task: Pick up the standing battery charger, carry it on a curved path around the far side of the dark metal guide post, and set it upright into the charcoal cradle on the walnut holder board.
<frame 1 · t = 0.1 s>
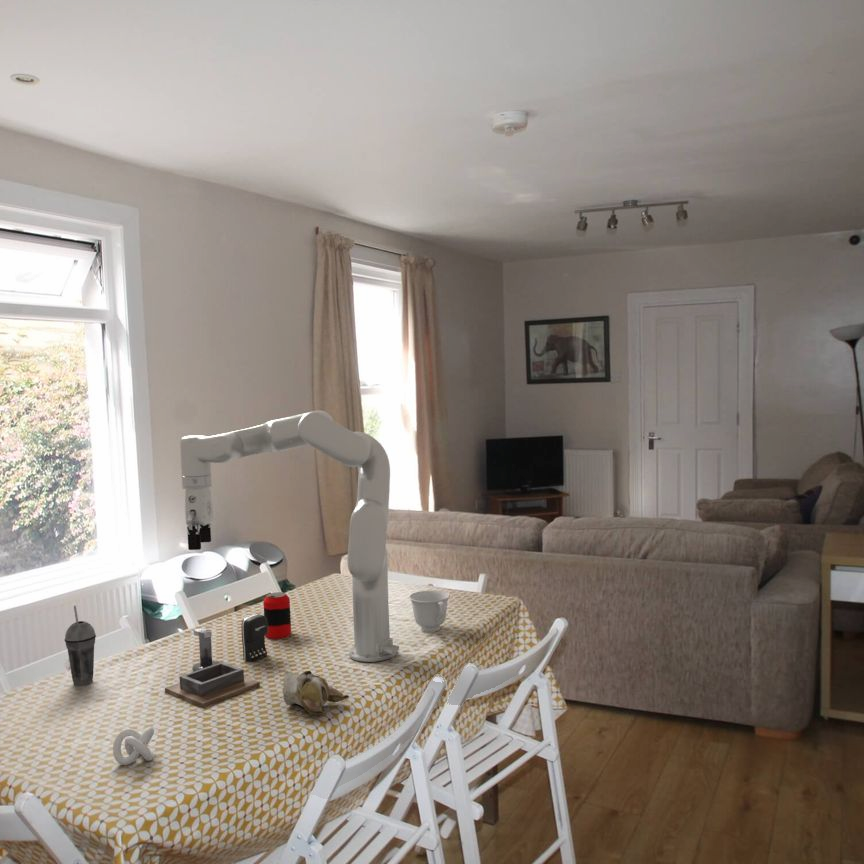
hand: (200, 545, 212), 31 cm above the table, fingers open, 9 cm apart
holder: (212, 688, 193), on the table
knot: (138, 759, 157), on the table
soda can: (278, 635, 233), on the table
guide post: (206, 669, 206), on the table
ceramic sculpture: (311, 708, 180), on the table
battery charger: (256, 658, 214), on the table
teacup: (432, 631, 232), on the table
beverage cup: (83, 683, 200), on the table
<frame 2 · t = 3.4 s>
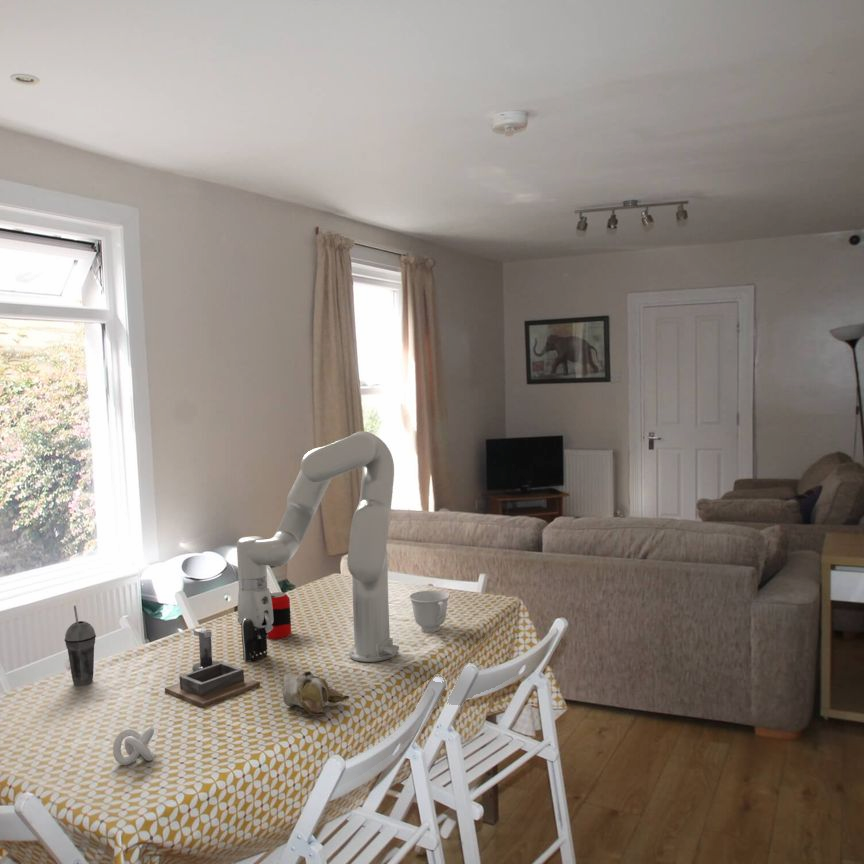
hand: (256, 649, 213), 2 cm above the table, fingers closed on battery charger, 4 cm apart
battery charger: (257, 658, 213), on the table, touching gripper
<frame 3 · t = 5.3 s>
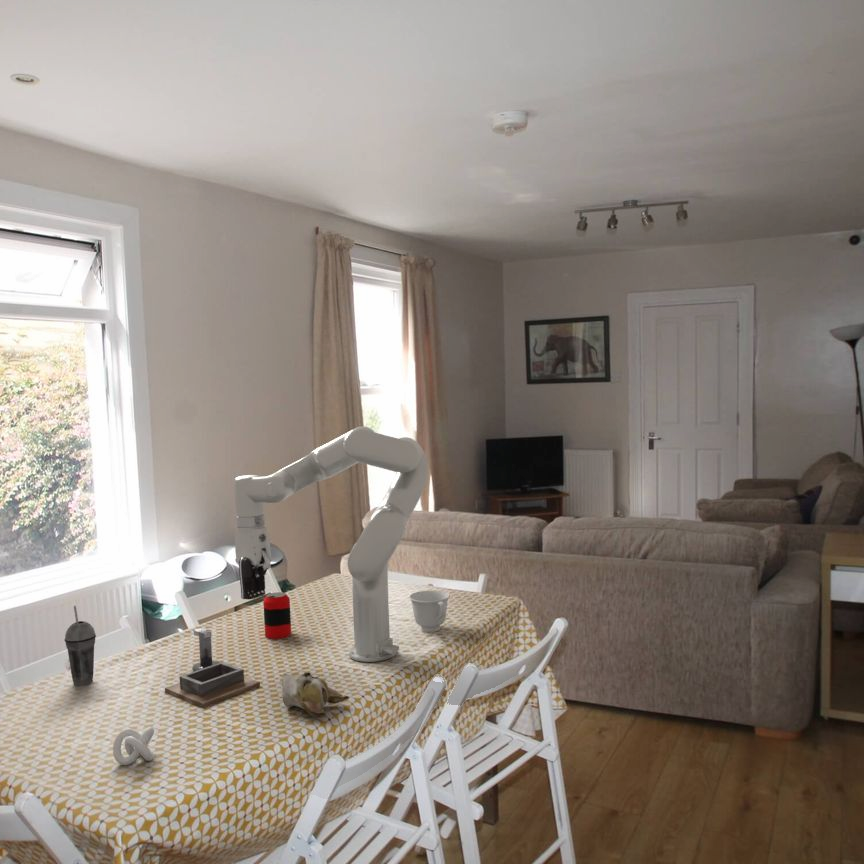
hand: (254, 588, 212), 19 cm above the table, fingers closed on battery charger, 4 cm apart
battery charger: (255, 598, 212), point 16 cm above the table, touching gripper
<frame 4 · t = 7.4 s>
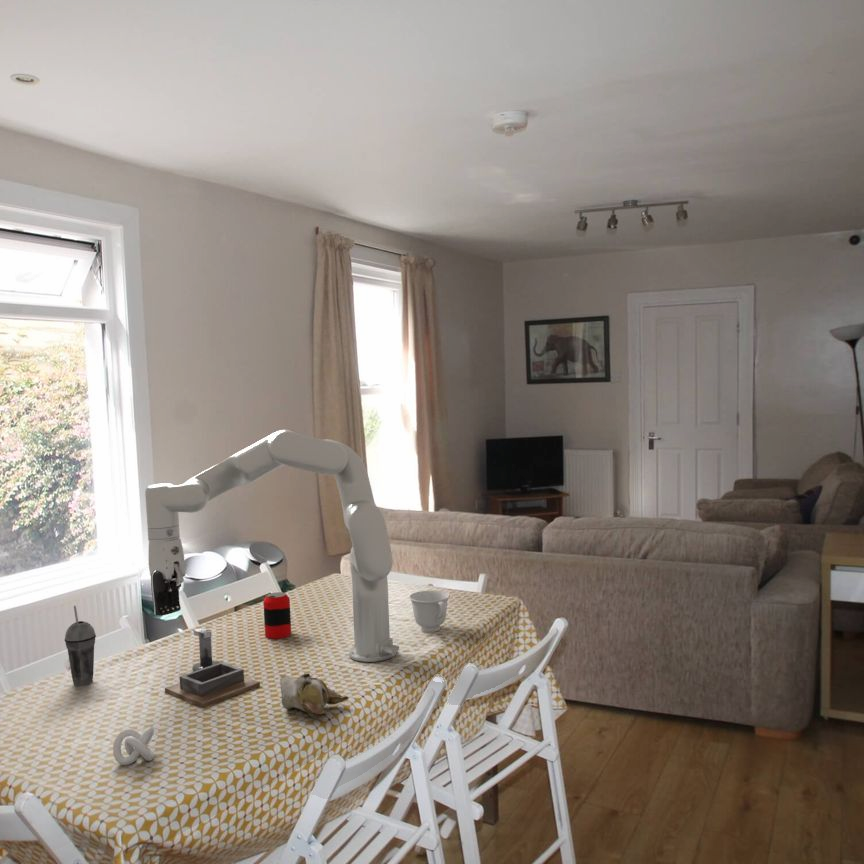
hand: (168, 604, 200), 19 cm above the table, fingers closed on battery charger, 4 cm apart
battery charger: (169, 614, 200), point 16 cm above the table, touching gripper
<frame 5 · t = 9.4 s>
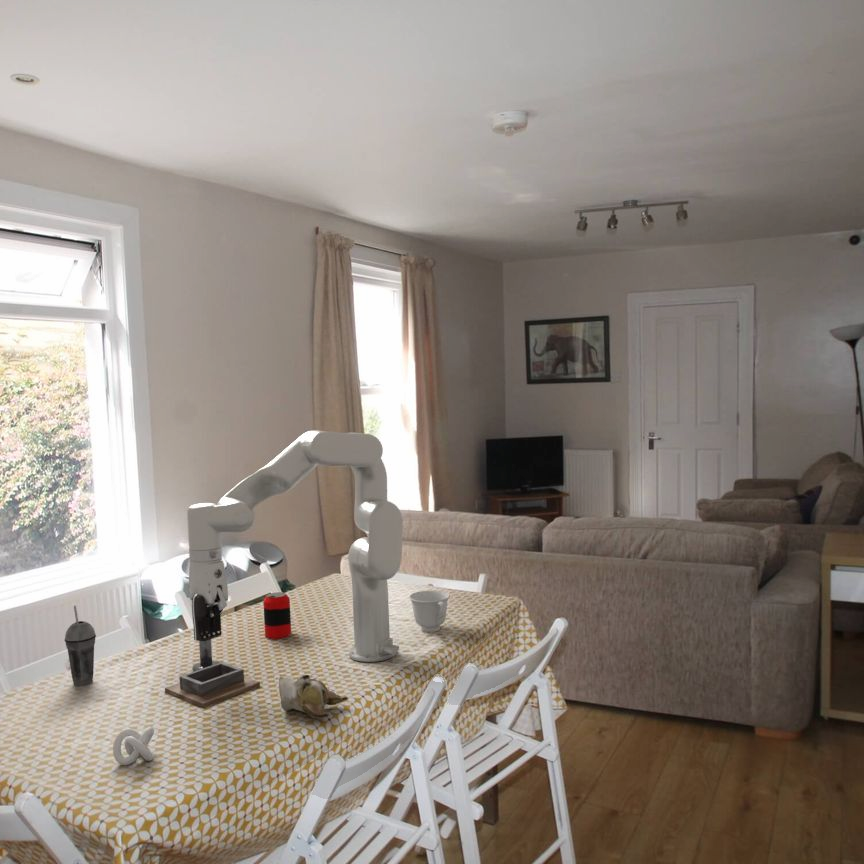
hand: (209, 629, 192), 15 cm above the table, fingers closed on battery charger, 3 cm apart
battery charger: (209, 639, 192), point 12 cm above the table, touching gripper
when the fingers open (5 cm above the table, at t = 11.4 s): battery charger drops 1 cm, resting on holder.
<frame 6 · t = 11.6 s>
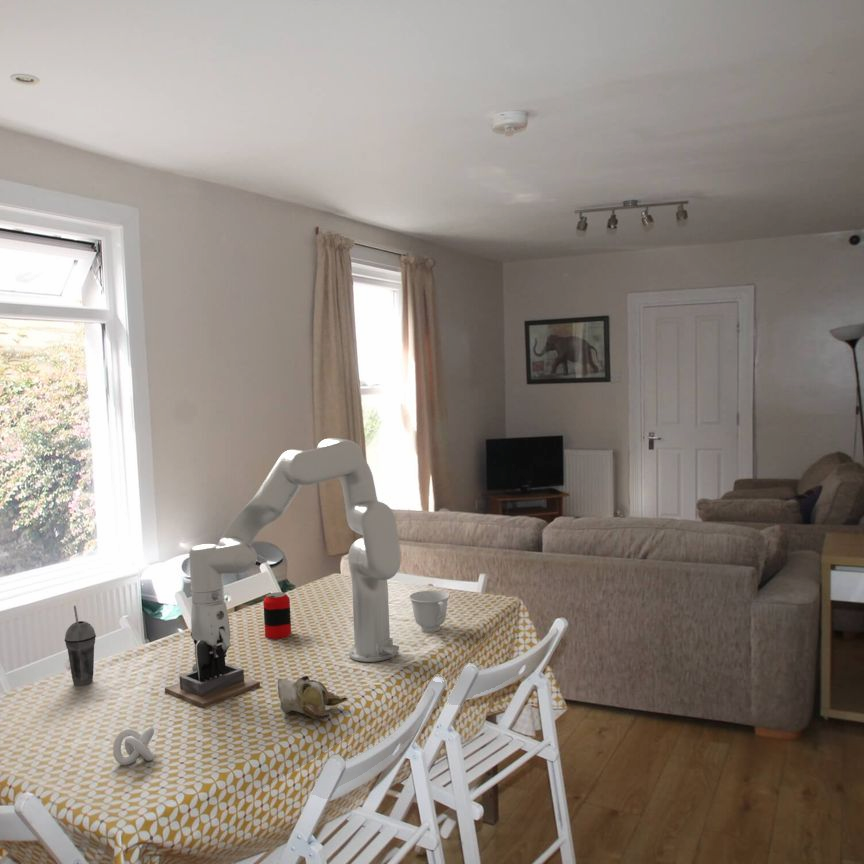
hand: (211, 668, 192), 5 cm above the table, fingers open, 5 cm apart
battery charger: (214, 685, 192), point 1 cm above the table, touching holder
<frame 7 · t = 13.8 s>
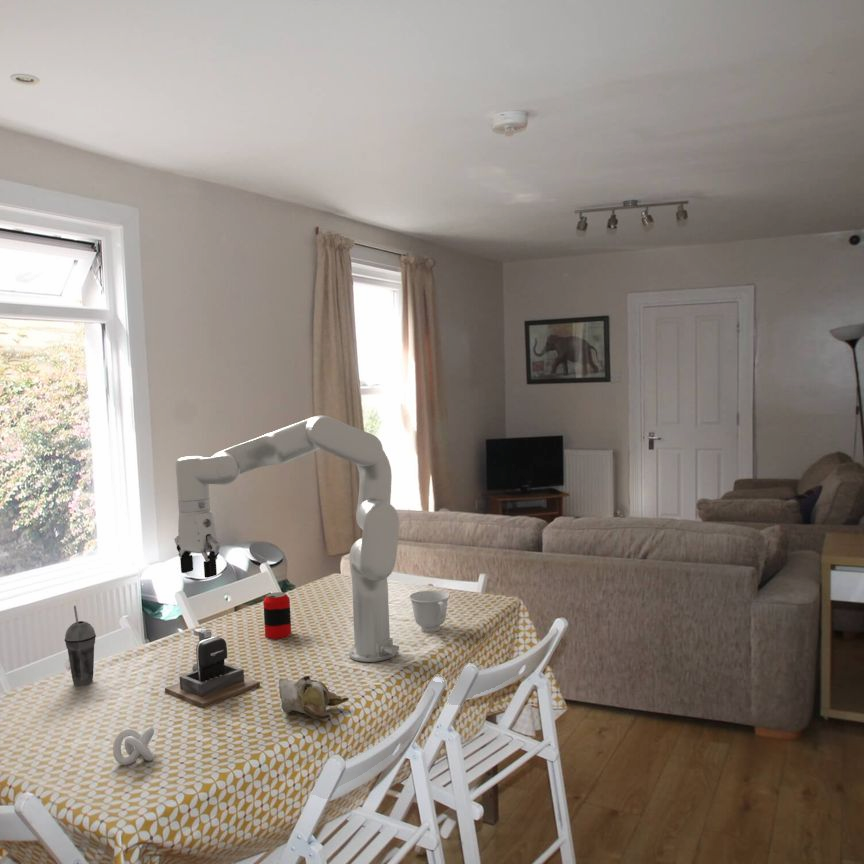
hand: (198, 574, 198), 27 cm above the table, fingers open, 9 cm apart
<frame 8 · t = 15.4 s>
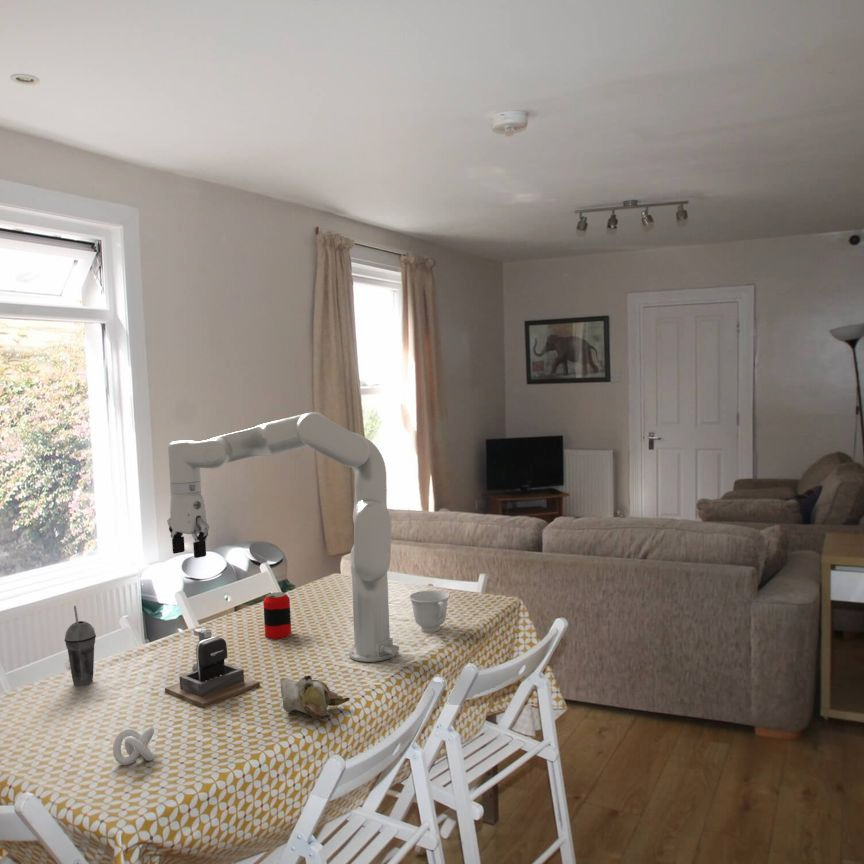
hand: (189, 554, 204), 30 cm above the table, fingers open, 9 cm apart
at the end: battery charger 0.8 cm off-centre on the holder, point 0.8 cm above the holder's base; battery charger tilted 0°; the gripper is holding nothing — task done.
